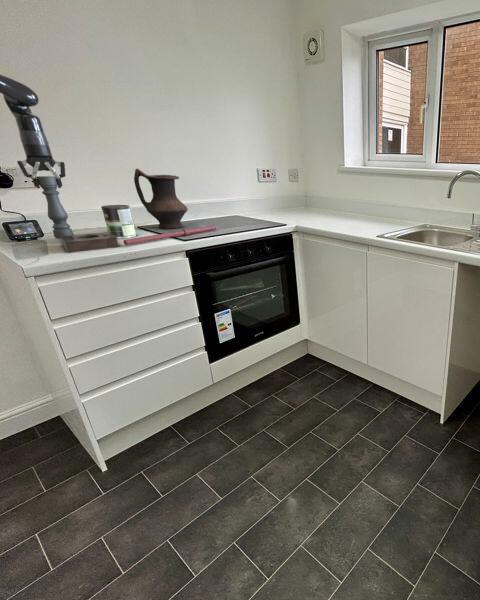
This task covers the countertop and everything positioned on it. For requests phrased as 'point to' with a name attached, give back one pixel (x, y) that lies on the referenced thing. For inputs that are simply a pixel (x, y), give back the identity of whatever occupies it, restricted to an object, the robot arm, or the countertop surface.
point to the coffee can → (119, 221)
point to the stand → (89, 241)
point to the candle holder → (54, 206)
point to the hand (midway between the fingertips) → (49, 188)
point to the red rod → (168, 235)
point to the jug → (162, 200)
